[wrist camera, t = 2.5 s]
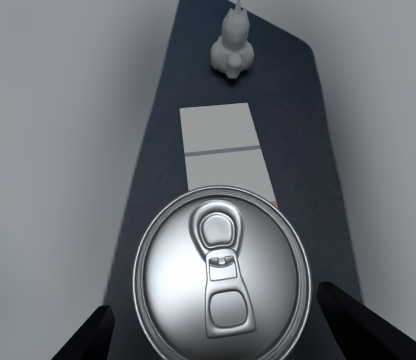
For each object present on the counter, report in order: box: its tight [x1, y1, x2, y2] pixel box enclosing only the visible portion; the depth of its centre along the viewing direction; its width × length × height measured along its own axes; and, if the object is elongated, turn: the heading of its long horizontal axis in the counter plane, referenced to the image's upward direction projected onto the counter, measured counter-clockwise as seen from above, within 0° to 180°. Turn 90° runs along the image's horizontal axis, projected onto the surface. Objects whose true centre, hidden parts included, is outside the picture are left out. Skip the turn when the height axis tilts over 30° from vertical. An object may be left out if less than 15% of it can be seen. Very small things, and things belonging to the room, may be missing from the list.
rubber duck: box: [211, 0, 254, 79], centre depth 23 cm, size 5×7×8 cm
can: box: [131, 185, 312, 360], centre depth 12 cm, size 6×6×12 cm
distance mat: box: [180, 103, 278, 208], centre depth 22 cm, size 14×8×1 cm, turn 8°
